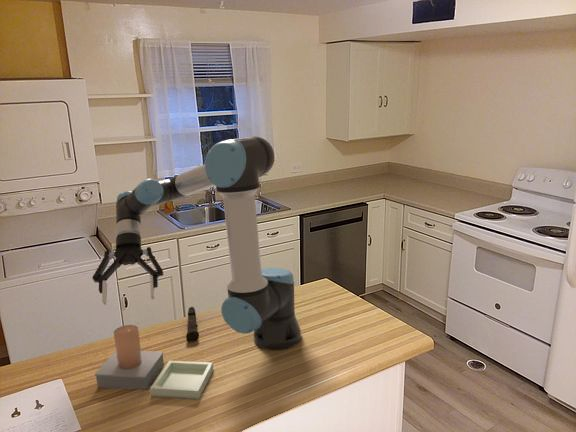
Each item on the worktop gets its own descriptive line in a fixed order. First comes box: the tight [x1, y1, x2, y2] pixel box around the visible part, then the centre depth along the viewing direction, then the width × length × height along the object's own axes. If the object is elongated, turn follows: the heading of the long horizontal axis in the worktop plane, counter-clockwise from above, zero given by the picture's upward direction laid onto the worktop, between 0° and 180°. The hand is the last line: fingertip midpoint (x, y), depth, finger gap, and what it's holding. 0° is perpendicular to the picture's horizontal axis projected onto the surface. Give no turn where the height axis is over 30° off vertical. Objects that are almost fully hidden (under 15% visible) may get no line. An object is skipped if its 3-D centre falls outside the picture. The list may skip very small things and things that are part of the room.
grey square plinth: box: [94, 350, 165, 391], centre depth 130 cm, size 14×12×4 cm
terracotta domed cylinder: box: [113, 324, 142, 369], centre depth 128 cm, size 6×6×10 cm
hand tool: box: [185, 306, 200, 343], centre depth 156 cm, size 19×4×5 cm, turn 10°
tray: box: [149, 360, 214, 400], centre depth 126 cm, size 13×13×2 cm
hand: (128, 300), depth 135 cm, fingers open, 13 cm apart
